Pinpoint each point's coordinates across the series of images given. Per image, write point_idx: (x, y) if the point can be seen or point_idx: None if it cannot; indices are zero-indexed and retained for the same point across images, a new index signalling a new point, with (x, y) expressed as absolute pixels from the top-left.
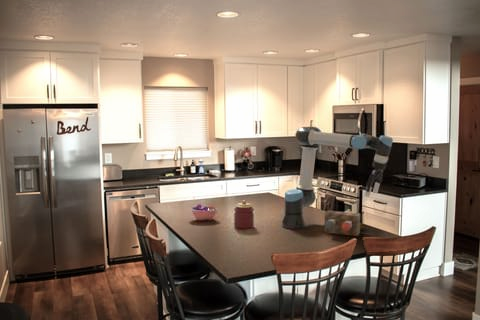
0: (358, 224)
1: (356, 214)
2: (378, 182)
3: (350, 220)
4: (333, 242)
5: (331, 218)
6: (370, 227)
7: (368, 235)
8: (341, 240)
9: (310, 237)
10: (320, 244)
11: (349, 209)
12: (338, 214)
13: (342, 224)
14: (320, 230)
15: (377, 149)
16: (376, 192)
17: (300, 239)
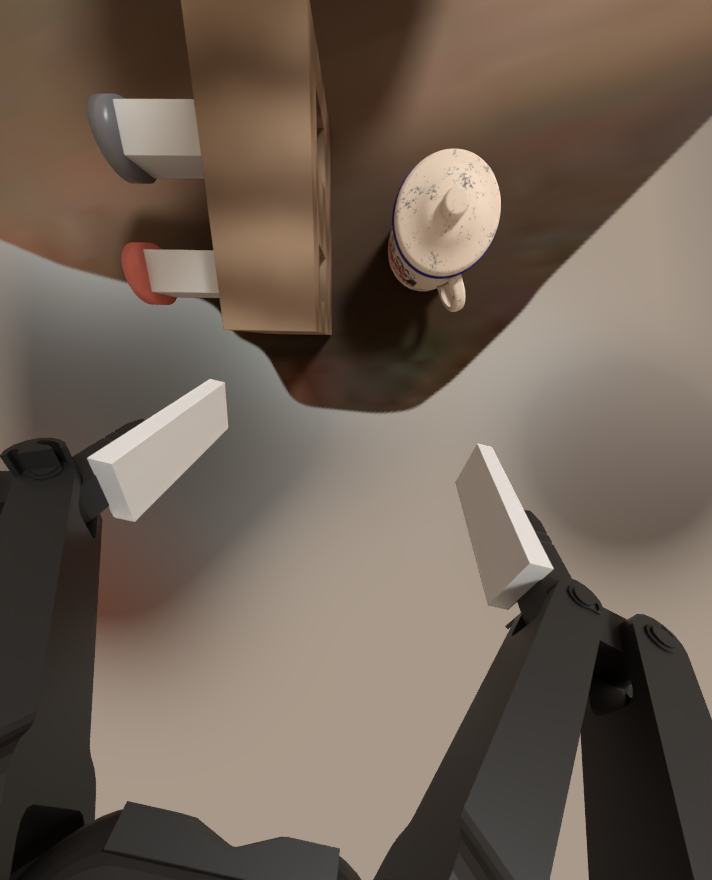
0: (271, 332)
1: (272, 309)
2: (527, 604)
3: None
4: (94, 242)
5: None
6: (460, 367)
7: (303, 380)
8: None
9: (95, 67)
10: (17, 182)
11: (463, 207)
12: (202, 157)
13: (128, 246)
14: None
15: None
16: (461, 483)
17: (14, 8)
